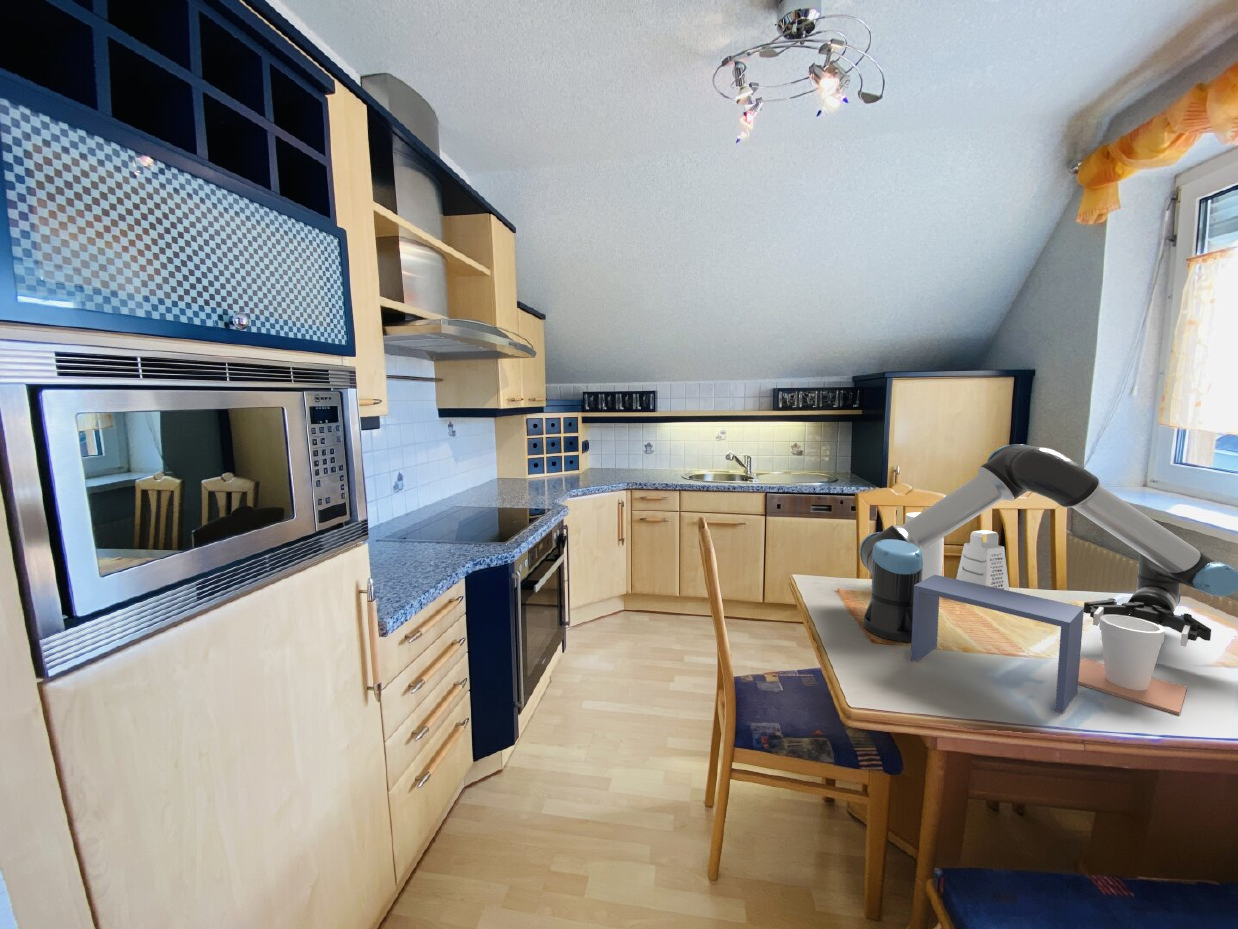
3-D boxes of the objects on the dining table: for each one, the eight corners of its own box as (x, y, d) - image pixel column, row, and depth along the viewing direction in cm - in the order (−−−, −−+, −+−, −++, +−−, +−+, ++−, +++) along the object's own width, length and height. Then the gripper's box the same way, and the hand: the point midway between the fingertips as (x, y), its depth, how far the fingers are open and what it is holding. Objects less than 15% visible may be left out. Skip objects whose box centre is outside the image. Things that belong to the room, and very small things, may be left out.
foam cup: (1144, 699, 99) (1150, 636, 98) (1086, 677, 107) (1091, 619, 106) (1167, 688, 103) (1173, 627, 101) (1109, 667, 111) (1114, 611, 110)
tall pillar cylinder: (901, 583, 170) (904, 511, 167) (938, 587, 165) (941, 513, 163) (904, 593, 160) (907, 517, 158) (943, 597, 156) (947, 519, 153)
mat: (1068, 680, 107) (1068, 678, 107) (1082, 660, 116) (1083, 658, 116) (1179, 715, 94) (1179, 712, 94) (1186, 689, 103) (1186, 687, 103)
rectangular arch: (910, 659, 117) (913, 585, 116) (931, 645, 125) (934, 574, 123) (1063, 713, 96) (1069, 622, 94) (1077, 691, 103) (1083, 607, 101)
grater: (1010, 596, 156) (1013, 534, 155) (985, 600, 153) (989, 537, 151) (977, 585, 166) (980, 527, 164) (953, 589, 163) (956, 529, 161)
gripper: (1229, 637, 113) (1224, 667, 100) (1082, 605, 133) (1062, 627, 120) (1232, 606, 112) (1227, 631, 100) (1084, 578, 132) (1064, 597, 119)
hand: (1137, 629), depth 110 cm, fingers open, 13 cm apart
